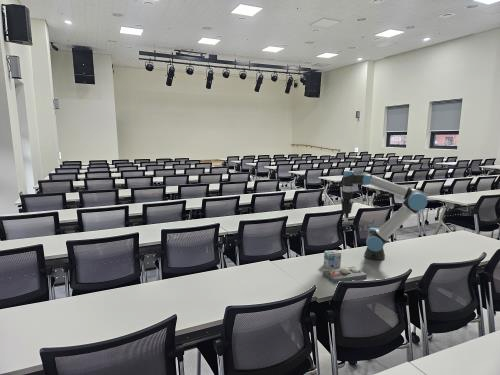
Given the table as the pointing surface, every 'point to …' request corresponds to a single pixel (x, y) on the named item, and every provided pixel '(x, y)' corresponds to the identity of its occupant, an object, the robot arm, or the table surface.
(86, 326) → the table surface
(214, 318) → the table surface
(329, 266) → the light bulb box
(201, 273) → the table surface
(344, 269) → the button two
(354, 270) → the button one
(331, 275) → the button three
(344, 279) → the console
